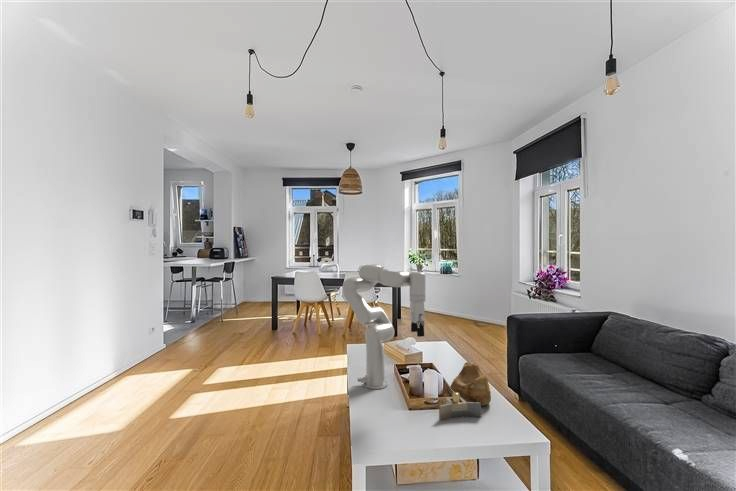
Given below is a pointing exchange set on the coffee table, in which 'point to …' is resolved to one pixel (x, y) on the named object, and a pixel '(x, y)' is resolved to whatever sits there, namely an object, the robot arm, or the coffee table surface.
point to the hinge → (459, 409)
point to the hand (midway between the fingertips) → (417, 333)
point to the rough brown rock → (472, 384)
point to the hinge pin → (456, 397)
